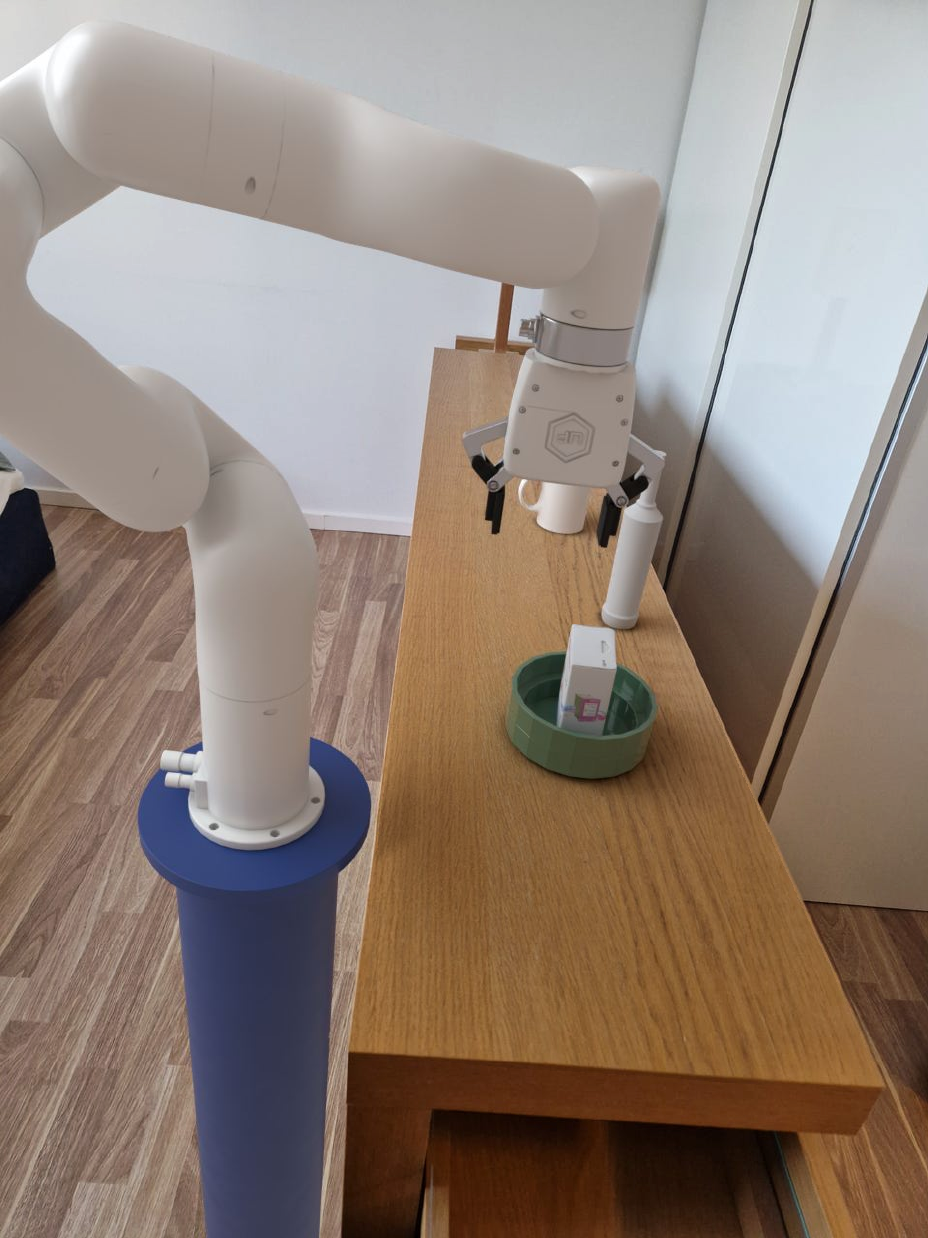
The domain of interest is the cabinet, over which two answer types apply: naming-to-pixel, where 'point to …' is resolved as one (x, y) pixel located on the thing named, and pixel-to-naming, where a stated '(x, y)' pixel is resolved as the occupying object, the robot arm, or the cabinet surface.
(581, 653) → the ink box
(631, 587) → the bottle
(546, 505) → the mug
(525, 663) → the bowl
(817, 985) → the cabinet surface
